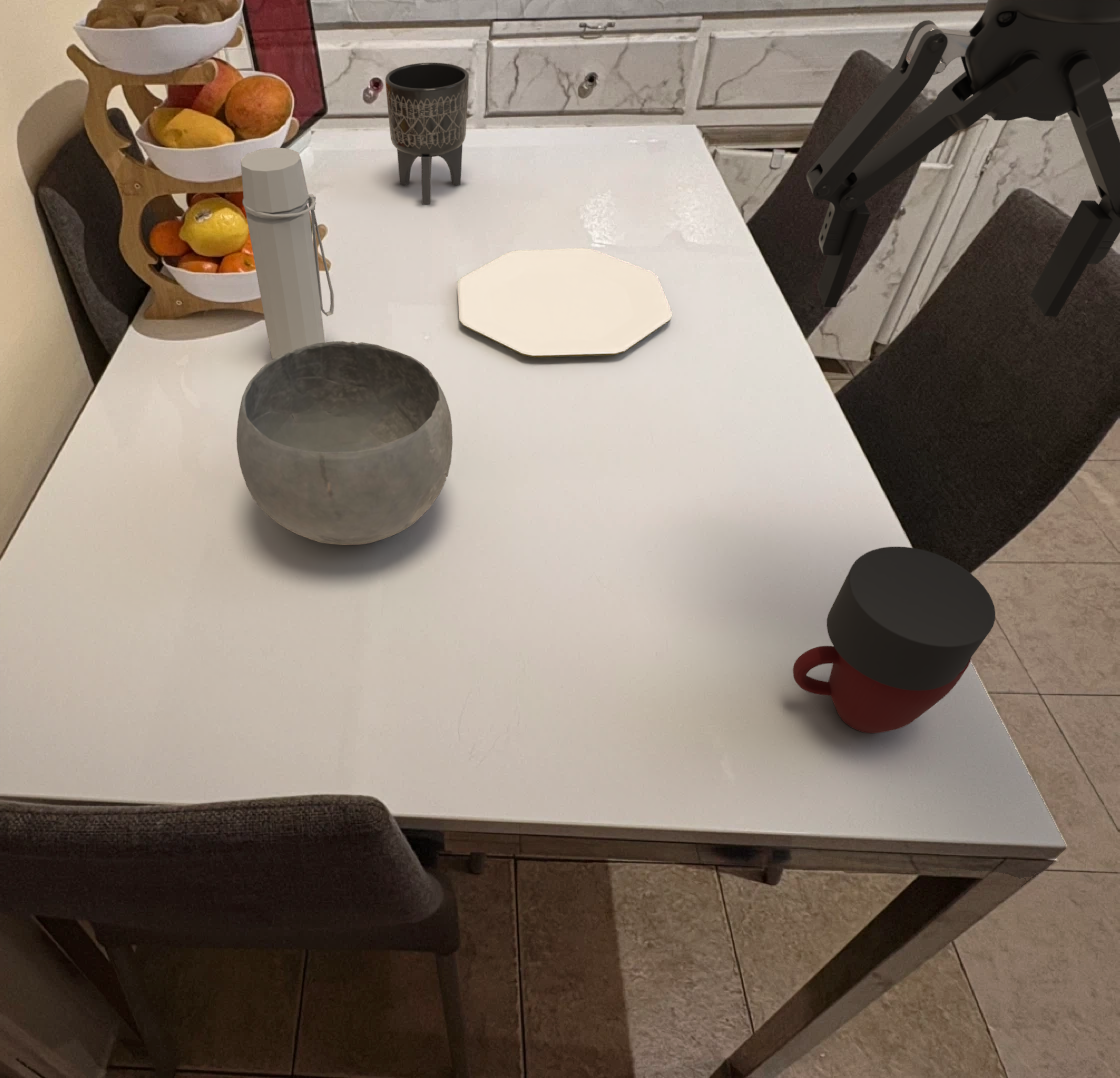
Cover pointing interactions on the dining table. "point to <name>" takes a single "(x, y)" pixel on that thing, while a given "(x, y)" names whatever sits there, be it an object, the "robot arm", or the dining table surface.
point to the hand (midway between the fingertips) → (932, 301)
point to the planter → (428, 118)
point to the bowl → (344, 441)
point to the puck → (909, 618)
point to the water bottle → (284, 248)
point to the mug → (865, 693)
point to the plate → (562, 302)
